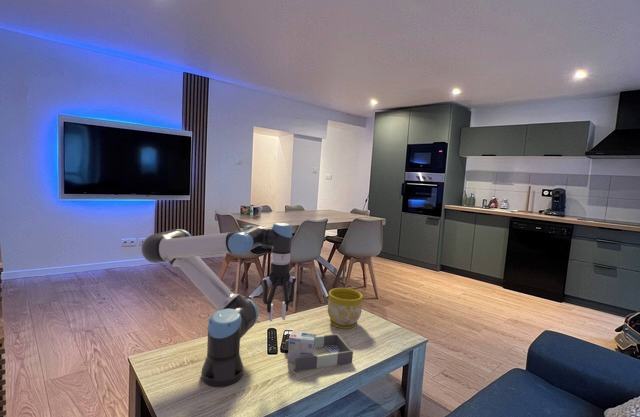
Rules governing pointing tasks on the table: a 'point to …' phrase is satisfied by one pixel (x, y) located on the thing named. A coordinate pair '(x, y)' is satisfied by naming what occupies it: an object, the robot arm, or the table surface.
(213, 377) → the robot arm
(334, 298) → the flowerpot
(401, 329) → the table surface
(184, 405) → the table surface
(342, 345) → the trap channel
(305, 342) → the light bulb box
